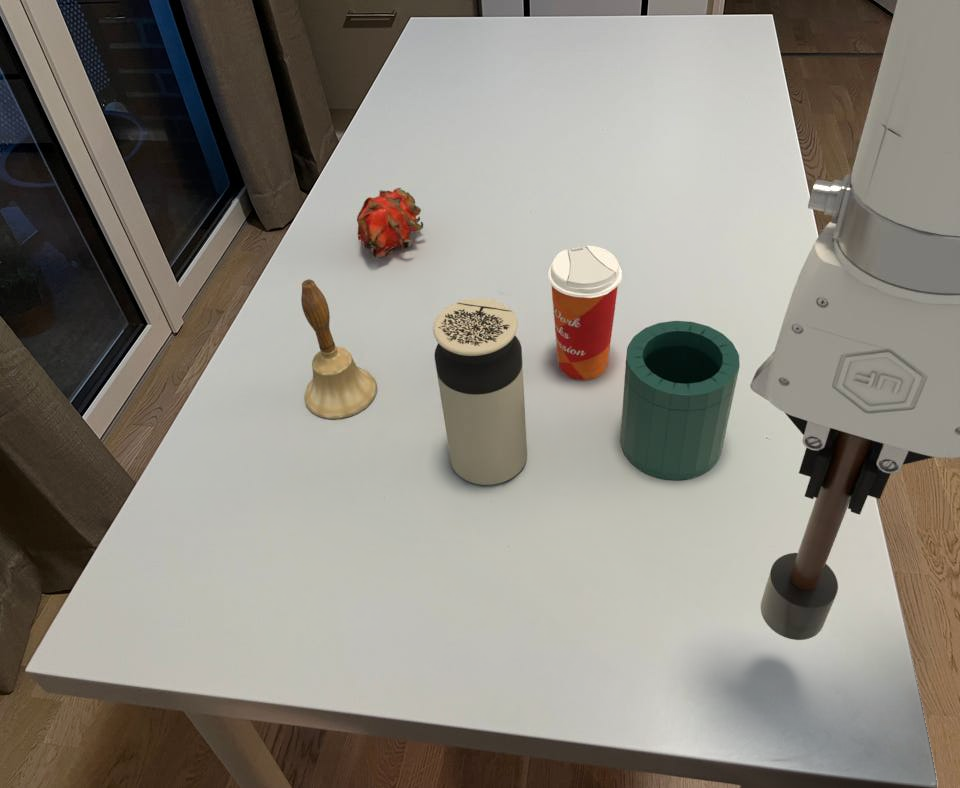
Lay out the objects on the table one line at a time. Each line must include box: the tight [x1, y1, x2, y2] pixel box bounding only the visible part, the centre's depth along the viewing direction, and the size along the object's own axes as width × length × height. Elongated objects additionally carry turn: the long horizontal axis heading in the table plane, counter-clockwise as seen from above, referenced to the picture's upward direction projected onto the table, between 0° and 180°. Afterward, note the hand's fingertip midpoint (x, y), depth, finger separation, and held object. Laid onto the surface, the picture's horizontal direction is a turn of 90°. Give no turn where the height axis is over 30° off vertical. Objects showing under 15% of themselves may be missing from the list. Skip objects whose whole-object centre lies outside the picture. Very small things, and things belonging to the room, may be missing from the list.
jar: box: [620, 320, 740, 481], centre depth 78 cm, size 10×10×12 cm
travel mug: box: [432, 298, 528, 486], centre depth 76 cm, size 8×8×18 cm
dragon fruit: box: [356, 187, 424, 259], centre depth 109 cm, size 8×8×12 cm
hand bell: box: [300, 278, 378, 420], centre depth 85 cm, size 8×8×16 cm
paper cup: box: [547, 245, 623, 381], centre depth 86 cm, size 8×8×14 cm
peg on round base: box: [760, 431, 873, 641], centre depth 51 cm, size 4×4×20 cm
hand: (837, 487), depth 48 cm, fingers closed on peg on round base
